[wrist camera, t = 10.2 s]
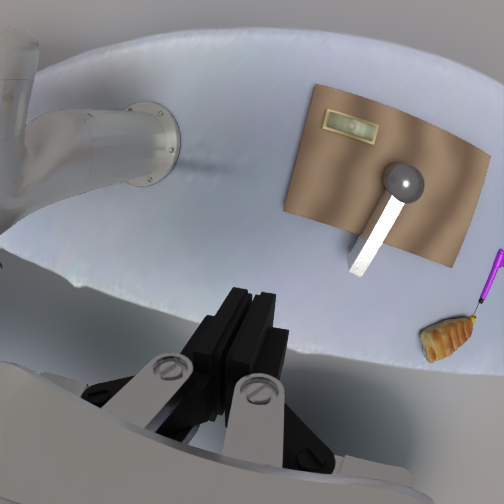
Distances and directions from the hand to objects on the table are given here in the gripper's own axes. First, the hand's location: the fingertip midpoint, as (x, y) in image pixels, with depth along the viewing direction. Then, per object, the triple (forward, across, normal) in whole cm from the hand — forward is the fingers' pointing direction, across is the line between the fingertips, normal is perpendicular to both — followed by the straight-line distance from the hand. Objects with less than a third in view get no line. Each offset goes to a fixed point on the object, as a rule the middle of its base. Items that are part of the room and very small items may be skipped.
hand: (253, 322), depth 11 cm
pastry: (+27, -25, +18) cm, 41 cm away
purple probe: (+28, -31, +10) cm, 43 cm away
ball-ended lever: (+25, -9, 0) cm, 26 cm away
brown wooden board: (+27, -11, -4) cm, 29 cm away
